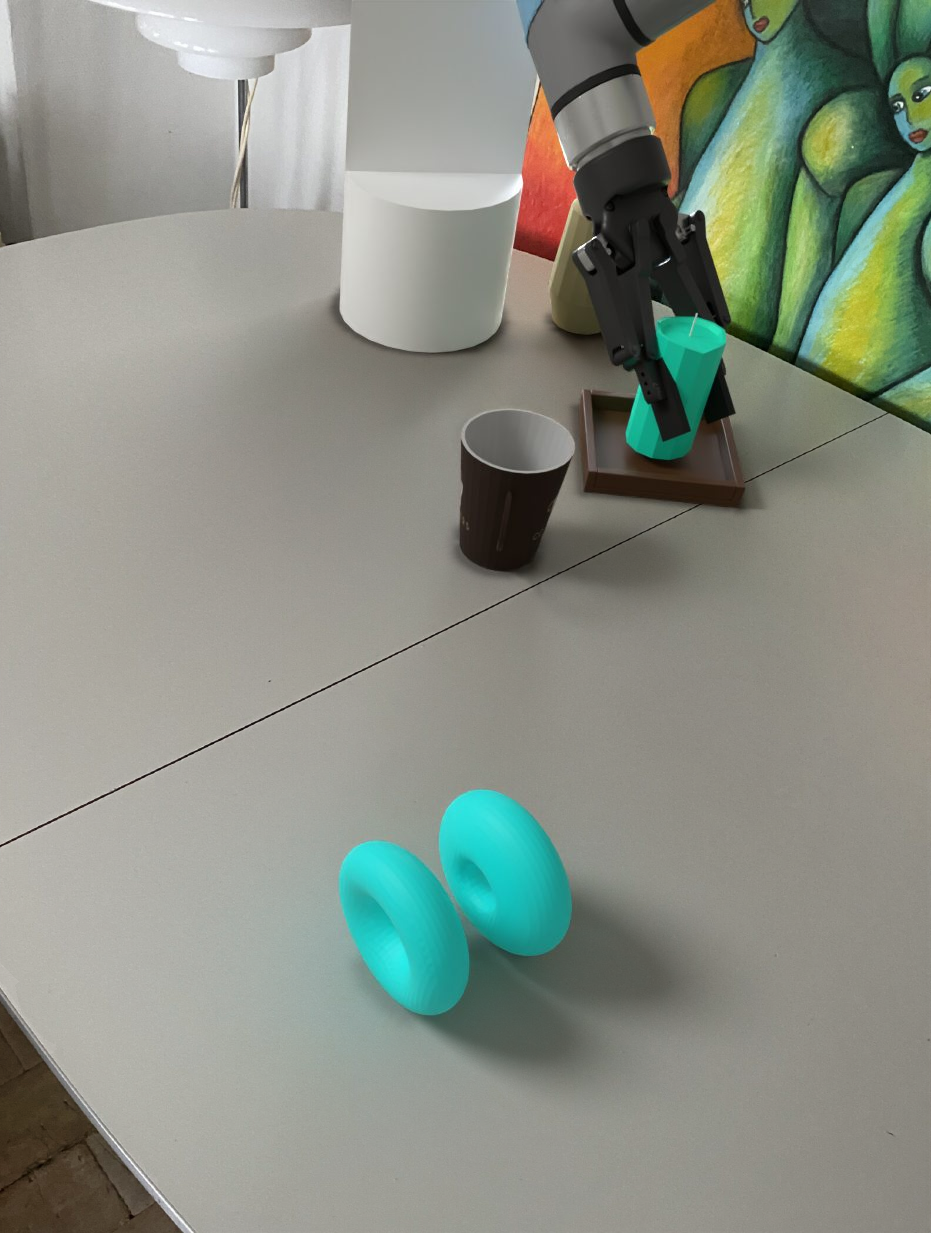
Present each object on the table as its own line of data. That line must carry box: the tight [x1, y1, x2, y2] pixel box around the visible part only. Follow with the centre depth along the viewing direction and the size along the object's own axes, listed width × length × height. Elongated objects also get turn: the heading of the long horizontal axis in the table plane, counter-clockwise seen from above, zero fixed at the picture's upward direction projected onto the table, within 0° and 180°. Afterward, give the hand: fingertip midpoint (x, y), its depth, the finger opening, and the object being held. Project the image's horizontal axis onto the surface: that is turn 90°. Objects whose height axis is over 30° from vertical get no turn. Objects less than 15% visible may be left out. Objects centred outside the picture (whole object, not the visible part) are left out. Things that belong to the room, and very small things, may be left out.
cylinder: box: [339, 0, 538, 354], centre depth 102 cm, size 17×17×28 cm
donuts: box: [338, 788, 573, 1016], centre depth 59 cm, size 10×10×10 cm
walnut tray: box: [577, 388, 747, 509], centre depth 97 cm, size 14×14×2 cm
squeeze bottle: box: [547, 197, 601, 335], centre depth 106 cm, size 8×8×18 cm
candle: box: [626, 313, 727, 460], centre depth 92 cm, size 6×6×12 cm
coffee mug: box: [458, 407, 576, 572], centre depth 83 cm, size 12×9×10 cm
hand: (699, 427), depth 92 cm, fingers closed on candle, 5 cm apart
